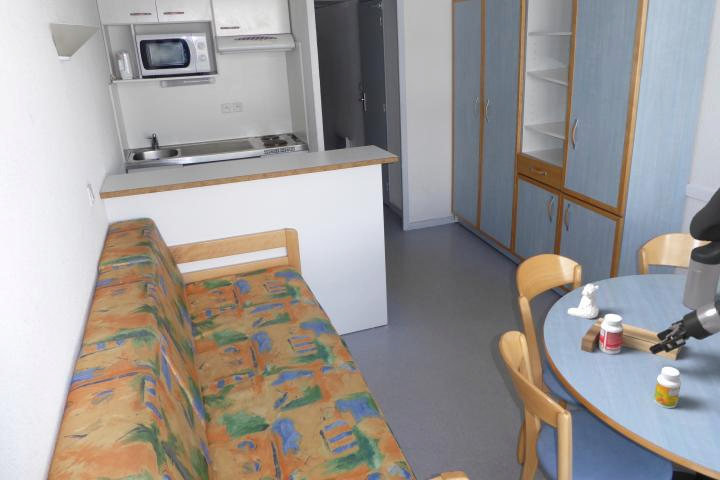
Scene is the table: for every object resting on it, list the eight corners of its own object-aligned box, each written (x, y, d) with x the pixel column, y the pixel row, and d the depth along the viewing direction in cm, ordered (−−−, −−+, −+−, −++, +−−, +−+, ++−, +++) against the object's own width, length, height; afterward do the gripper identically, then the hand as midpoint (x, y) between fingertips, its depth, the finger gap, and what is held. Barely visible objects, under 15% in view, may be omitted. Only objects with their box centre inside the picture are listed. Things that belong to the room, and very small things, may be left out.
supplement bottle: (649, 396, 147) (654, 366, 143) (668, 394, 147) (674, 364, 144) (661, 409, 142) (667, 378, 138) (681, 407, 142) (687, 376, 138)
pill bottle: (624, 350, 167) (629, 318, 163) (612, 357, 164) (616, 324, 160) (606, 341, 172) (610, 310, 168) (594, 348, 169) (597, 316, 165)
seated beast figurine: (583, 305, 194) (586, 275, 190) (605, 315, 188) (609, 283, 183) (566, 314, 190) (568, 282, 185) (588, 324, 183) (591, 291, 178)
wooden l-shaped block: (599, 325, 181) (600, 314, 180) (681, 347, 167) (683, 336, 165) (580, 349, 169) (582, 338, 167) (667, 376, 154) (669, 364, 153)
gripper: (703, 299, 154) (652, 323, 165) (692, 320, 143) (639, 344, 155) (721, 320, 152) (669, 343, 163) (712, 344, 142) (657, 366, 153)
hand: (655, 344), depth 159 cm, fingers open, 8 cm apart
